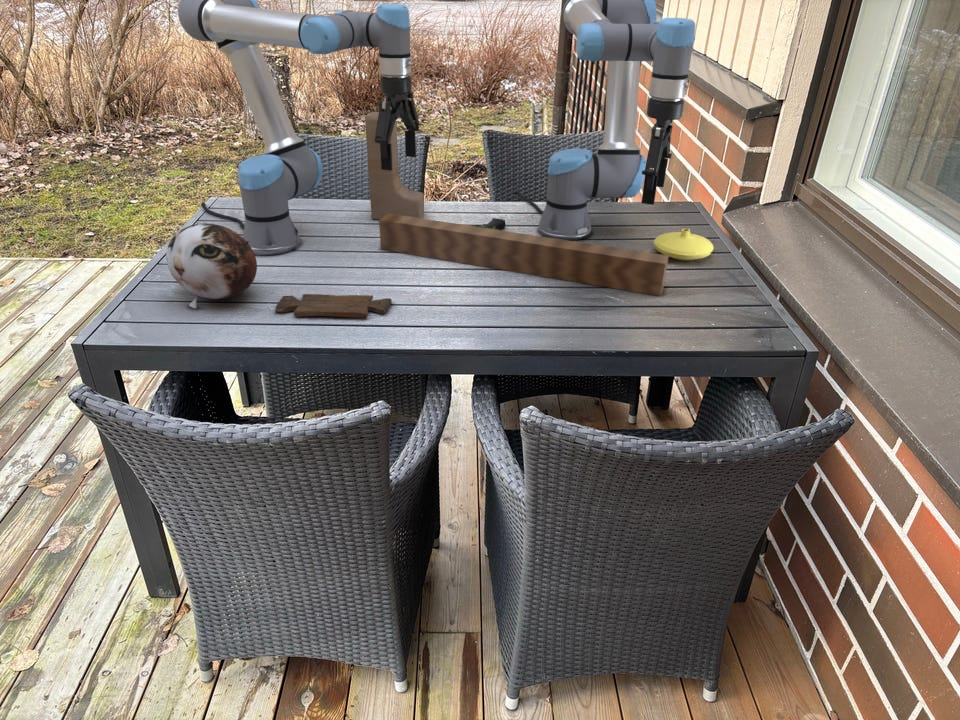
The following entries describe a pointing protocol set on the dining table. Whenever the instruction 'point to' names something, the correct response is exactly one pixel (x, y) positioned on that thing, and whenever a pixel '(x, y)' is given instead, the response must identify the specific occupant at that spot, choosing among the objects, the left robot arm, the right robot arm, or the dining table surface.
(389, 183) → the decorative block
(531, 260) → the bar
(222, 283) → the cat face balloon
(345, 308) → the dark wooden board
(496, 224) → the handgun
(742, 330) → the dining table surface
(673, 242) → the vase
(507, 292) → the dining table surface
